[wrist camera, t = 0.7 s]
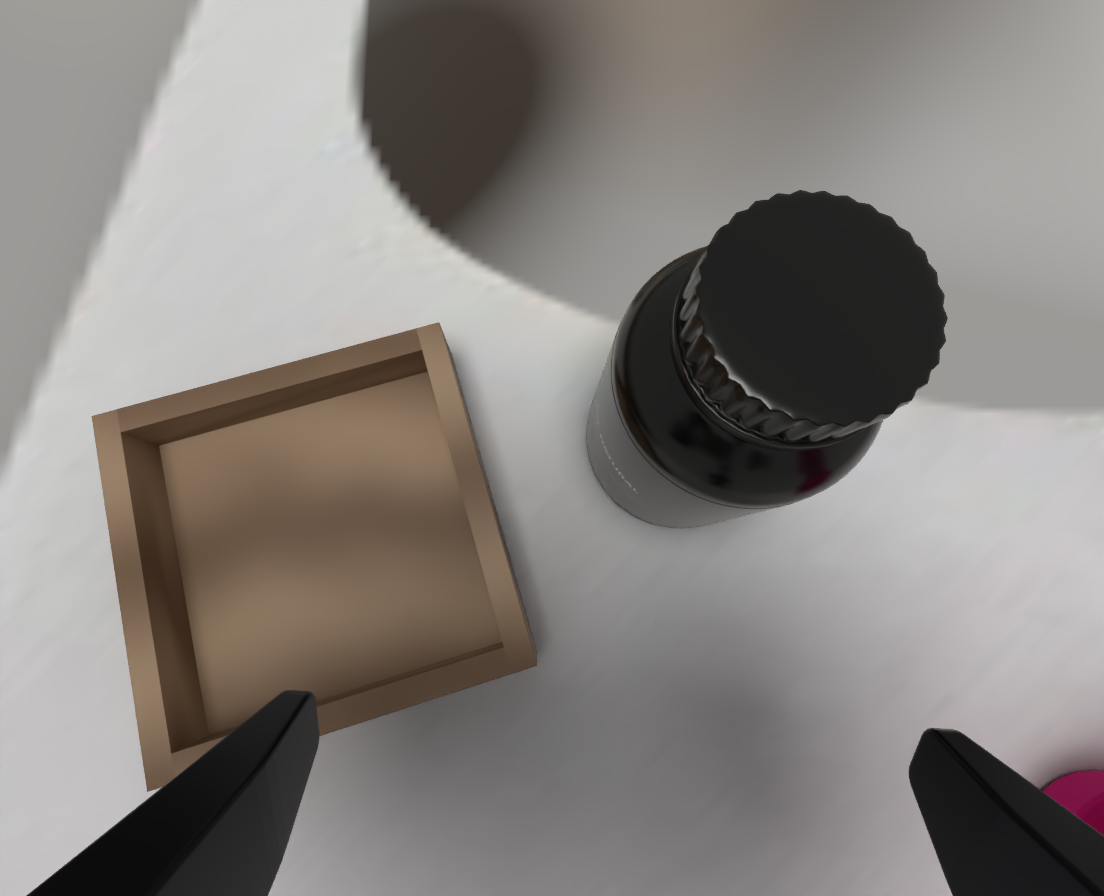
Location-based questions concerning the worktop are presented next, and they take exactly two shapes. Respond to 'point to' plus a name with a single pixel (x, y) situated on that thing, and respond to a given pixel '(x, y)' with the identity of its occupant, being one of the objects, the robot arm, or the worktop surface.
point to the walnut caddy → (306, 545)
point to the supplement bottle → (764, 361)
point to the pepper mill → (1081, 796)
